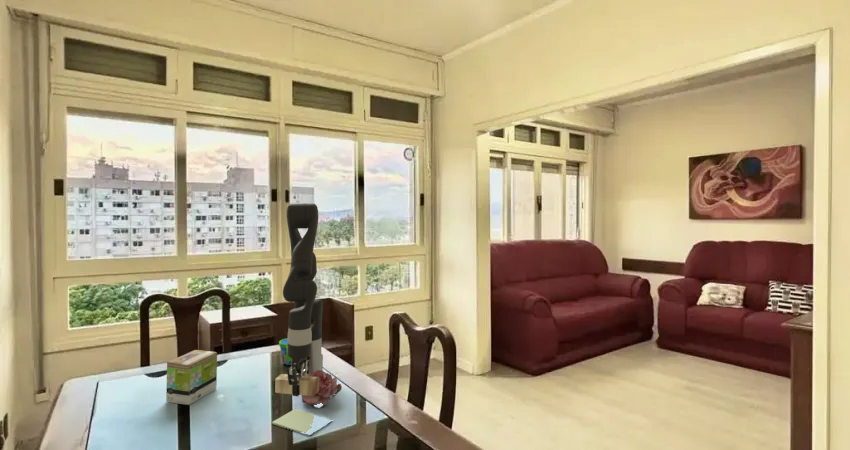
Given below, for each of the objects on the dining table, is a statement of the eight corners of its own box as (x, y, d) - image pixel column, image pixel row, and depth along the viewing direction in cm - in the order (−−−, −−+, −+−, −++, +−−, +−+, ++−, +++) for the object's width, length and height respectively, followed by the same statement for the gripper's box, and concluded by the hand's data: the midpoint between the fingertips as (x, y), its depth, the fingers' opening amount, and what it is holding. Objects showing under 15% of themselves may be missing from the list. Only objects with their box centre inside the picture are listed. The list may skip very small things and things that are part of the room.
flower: (295, 386, 173) (300, 364, 170) (334, 386, 178) (339, 365, 176) (298, 414, 160) (303, 391, 157) (339, 413, 165) (345, 391, 162)
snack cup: (284, 357, 212) (284, 335, 212) (307, 357, 212) (307, 335, 212) (274, 369, 197) (274, 346, 196) (298, 370, 197) (299, 346, 196)
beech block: (281, 373, 153) (319, 376, 151) (281, 387, 153) (319, 390, 151) (275, 379, 148) (314, 382, 146) (275, 392, 148) (313, 396, 147)
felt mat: (295, 410, 160) (295, 408, 160) (332, 421, 153) (332, 419, 153) (271, 423, 150) (271, 422, 150) (310, 436, 143) (310, 434, 143)
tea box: (190, 405, 161) (190, 364, 160) (165, 402, 163) (165, 361, 162) (217, 388, 176) (217, 350, 175) (194, 385, 178) (194, 348, 177)
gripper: (301, 348, 141) (301, 403, 142) (318, 335, 155) (318, 384, 156) (278, 347, 142) (278, 401, 143) (297, 334, 156) (297, 383, 157)
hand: (299, 392), depth 150 cm, fingers closed on beech block, 4 cm apart
